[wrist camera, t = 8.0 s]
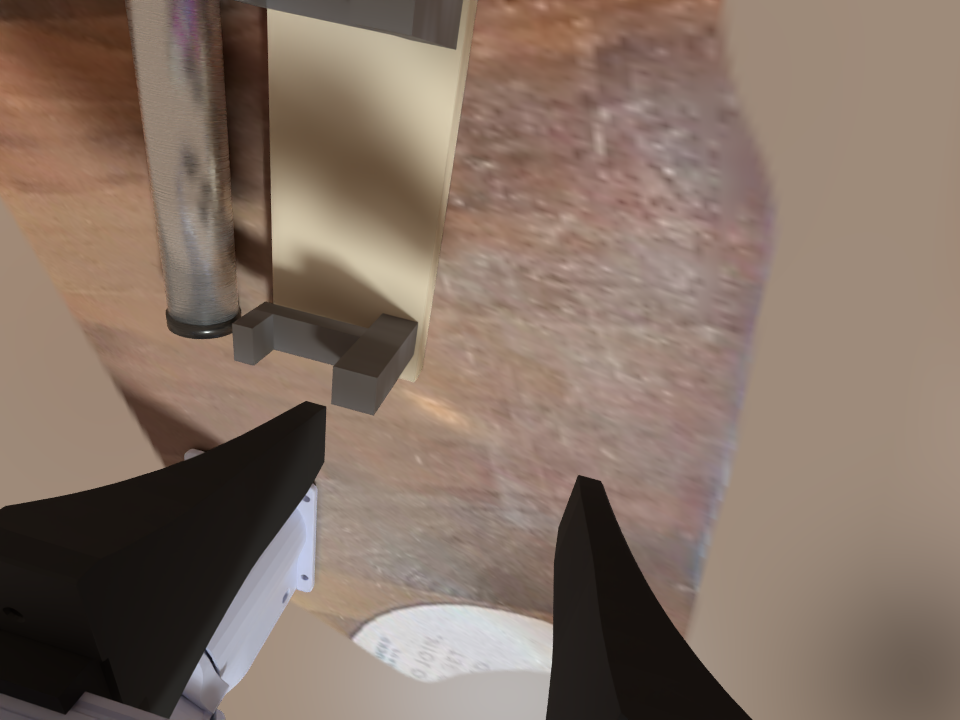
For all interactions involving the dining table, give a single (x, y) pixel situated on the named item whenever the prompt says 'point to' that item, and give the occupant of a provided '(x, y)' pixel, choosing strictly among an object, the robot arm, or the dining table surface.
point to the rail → (187, 159)
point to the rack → (358, 184)
